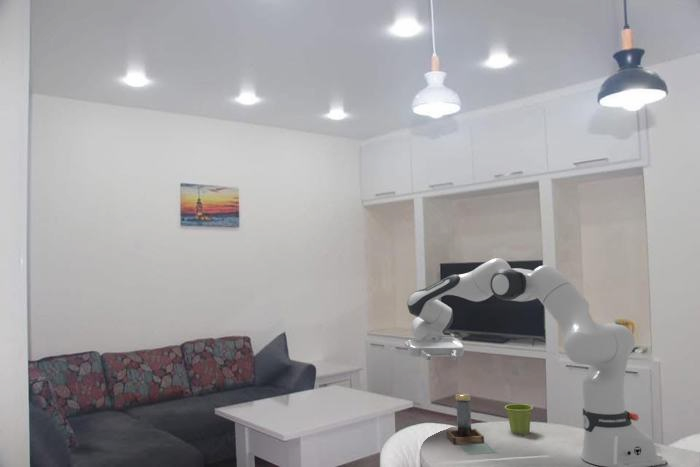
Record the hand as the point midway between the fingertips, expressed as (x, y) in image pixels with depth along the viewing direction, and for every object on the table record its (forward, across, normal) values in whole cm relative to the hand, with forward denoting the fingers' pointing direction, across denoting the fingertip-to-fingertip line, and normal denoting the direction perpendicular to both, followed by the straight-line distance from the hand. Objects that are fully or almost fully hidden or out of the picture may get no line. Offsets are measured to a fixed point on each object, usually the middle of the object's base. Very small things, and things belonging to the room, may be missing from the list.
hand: (441, 358), depth 203 cm
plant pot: (+14, +26, +22) cm, 37 cm away
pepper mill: (+18, +5, +20) cm, 28 cm away
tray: (+18, +5, +21) cm, 28 cm away
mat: (+28, +5, +18) cm, 34 cm away
